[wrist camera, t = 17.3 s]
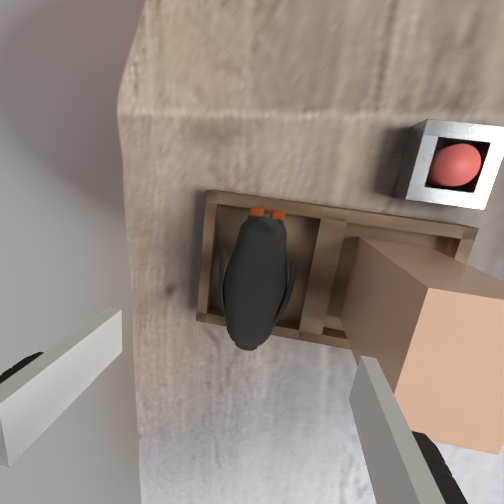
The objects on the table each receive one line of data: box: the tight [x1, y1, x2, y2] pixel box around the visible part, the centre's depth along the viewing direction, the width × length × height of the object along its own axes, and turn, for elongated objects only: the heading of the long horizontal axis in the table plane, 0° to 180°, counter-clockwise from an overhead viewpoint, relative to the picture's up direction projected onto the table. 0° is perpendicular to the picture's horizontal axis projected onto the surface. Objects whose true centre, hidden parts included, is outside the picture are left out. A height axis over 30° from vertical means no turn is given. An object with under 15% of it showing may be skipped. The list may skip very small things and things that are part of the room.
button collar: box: [393, 119, 504, 210], centre depth 26 cm, size 7×7×3 cm
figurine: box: [218, 207, 297, 351], centre depth 26 cm, size 7×10×15 cm
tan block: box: [340, 236, 504, 455], centre depth 23 cm, size 10×7×15 cm
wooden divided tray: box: [196, 190, 478, 349], centre depth 30 cm, size 15×27×3 cm, turn 82°
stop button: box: [426, 144, 481, 186], centre depth 25 cm, size 4×4×3 cm
